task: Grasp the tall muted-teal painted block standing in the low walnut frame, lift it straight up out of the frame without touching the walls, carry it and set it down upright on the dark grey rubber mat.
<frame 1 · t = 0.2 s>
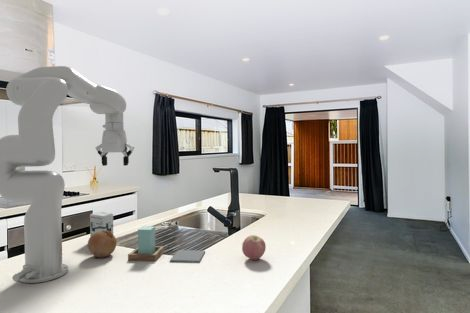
hand: (115, 165, 135), 31 cm above the worktop, fingers open, 9 cm apart
onion: (102, 256, 108), on the worktop
part: (146, 256, 107), resting in pocket frame
ink box: (102, 242, 124), on the worktop
pocket frame: (146, 255, 107), on the worktop
apple: (253, 260, 103), on the worktop
mat: (188, 256, 106), on the worktop
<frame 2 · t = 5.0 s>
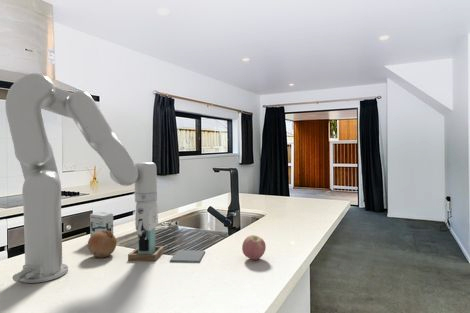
hand: (146, 247, 107), 3 cm above the worktop, fingers closed on part, 4 cm apart
part: (146, 255, 107), resting in pocket frame, touching gripper
everything else where it was.
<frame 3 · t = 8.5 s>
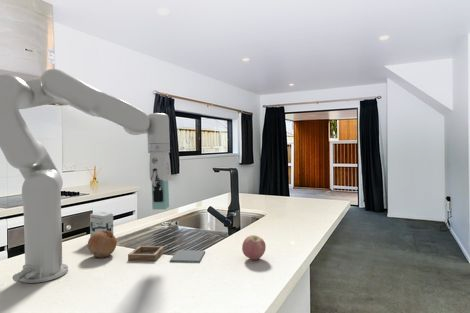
hand: (160, 199, 107), 20 cm above the worktop, fingers closed on part, 4 cm apart
part: (161, 208, 107), point 17 cm above the worktop, touching gripper
everything else where it was.
when the fingers open (4 cm above the worktop, at t = 12.1 s): part drops 1 cm, resting on mat.
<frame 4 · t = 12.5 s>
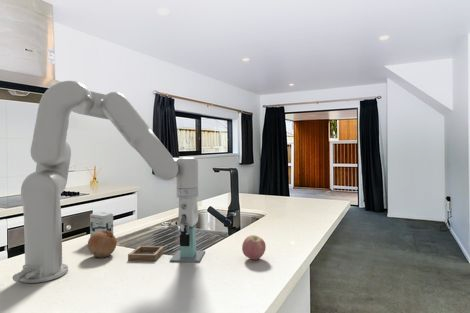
hand: (188, 241, 106), 5 cm above the worktop, fingers open, 8 cm apart
part: (188, 255, 106), point 1 cm above the worktop, touching mat
everything else where it was.
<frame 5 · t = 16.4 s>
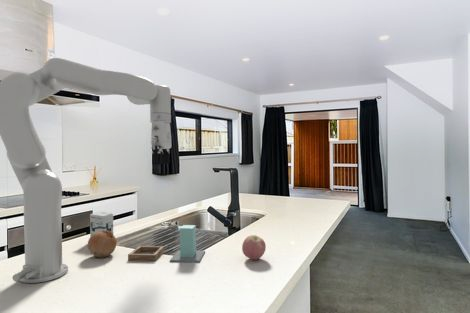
hand: (161, 164, 114), 32 cm above the worktop, fingers open, 9 cm apart
nothing on the worktop moved.
at the end: part inside the target area on the mat (0.1 cm from its centre), point 0.6 cm above the mat's base; part tilted 0°; part touching mat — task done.
